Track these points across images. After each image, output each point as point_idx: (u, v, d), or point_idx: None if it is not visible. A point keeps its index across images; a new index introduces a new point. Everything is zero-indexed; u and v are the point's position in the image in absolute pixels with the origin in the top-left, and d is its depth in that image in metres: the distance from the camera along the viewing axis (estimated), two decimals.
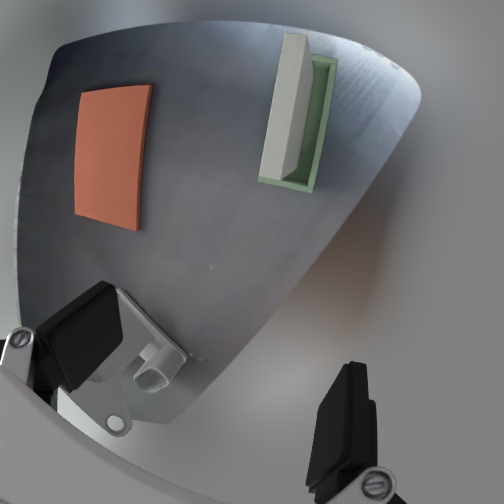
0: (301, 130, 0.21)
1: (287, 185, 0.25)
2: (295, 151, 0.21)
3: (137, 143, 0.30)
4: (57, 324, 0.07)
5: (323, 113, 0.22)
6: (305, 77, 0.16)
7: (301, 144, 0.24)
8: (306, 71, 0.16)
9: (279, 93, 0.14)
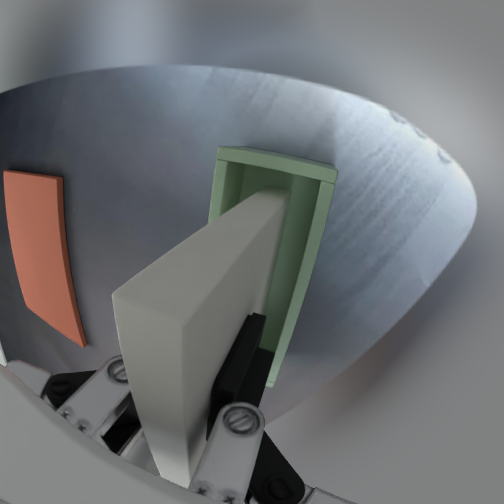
0: None
1: None
2: None
3: (59, 258, 0.22)
4: None
5: (296, 288, 0.13)
6: (232, 326, 0.07)
7: None
8: (234, 312, 0.07)
9: (152, 432, 0.06)
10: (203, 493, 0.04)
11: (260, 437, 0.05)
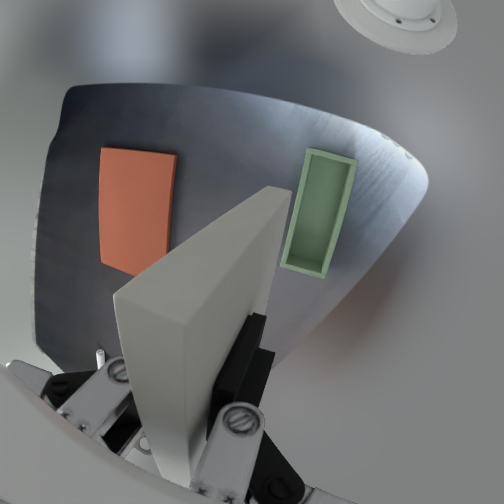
0: None
1: (304, 271, 0.31)
2: None
3: (165, 212, 0.36)
4: None
5: (340, 213, 0.27)
6: (232, 327, 0.07)
7: None
8: (235, 312, 0.07)
9: (152, 432, 0.06)
10: (203, 493, 0.04)
11: (260, 437, 0.05)
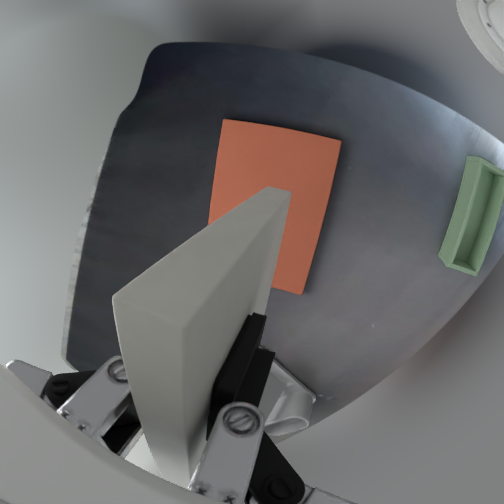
0: None
1: (464, 270, 0.25)
2: None
3: (321, 206, 0.30)
4: None
5: (495, 218, 0.22)
6: (232, 328, 0.07)
7: None
8: (234, 314, 0.07)
9: (152, 433, 0.06)
10: (203, 493, 0.04)
11: (260, 437, 0.05)
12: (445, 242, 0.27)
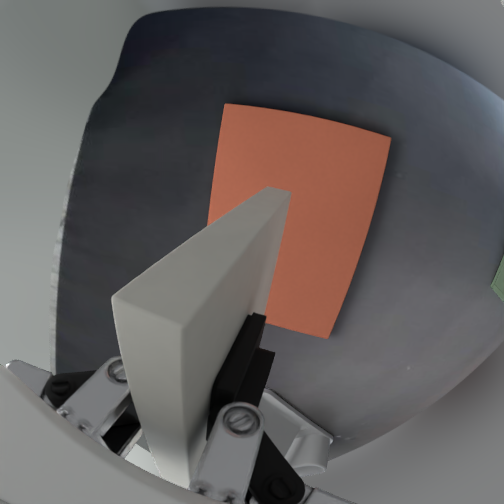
0: None
1: None
2: None
3: (362, 227, 0.21)
4: None
5: None
6: (231, 328, 0.07)
7: None
8: (233, 314, 0.07)
9: (151, 433, 0.06)
10: (203, 493, 0.04)
11: (260, 437, 0.05)
12: (500, 272, 0.18)
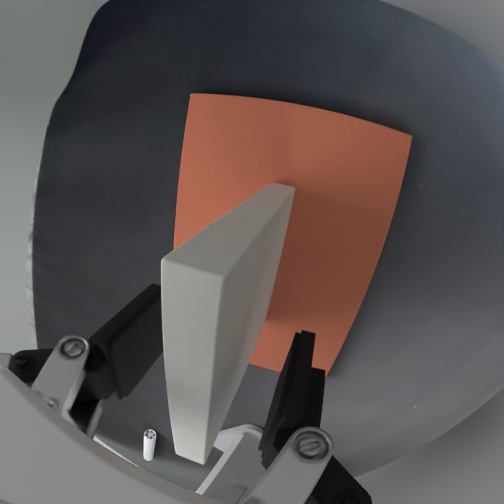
0: (258, 319, 0.14)
1: None
2: (244, 364, 0.13)
3: (371, 255, 0.16)
4: (116, 330, 0.07)
5: None
6: (248, 299, 0.09)
7: (265, 310, 0.17)
8: (251, 286, 0.08)
9: (176, 396, 0.07)
10: None
11: (325, 465, 0.05)
12: None
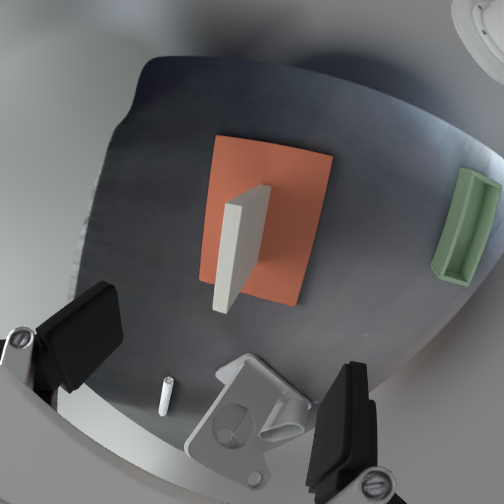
0: (252, 249, 0.29)
1: (456, 282, 0.26)
2: (245, 271, 0.28)
3: (313, 221, 0.31)
4: (57, 324, 0.07)
5: (487, 229, 0.23)
6: (248, 225, 0.24)
7: (256, 250, 0.32)
8: (249, 219, 0.24)
9: (222, 257, 0.22)
10: None
11: None
12: (437, 254, 0.28)
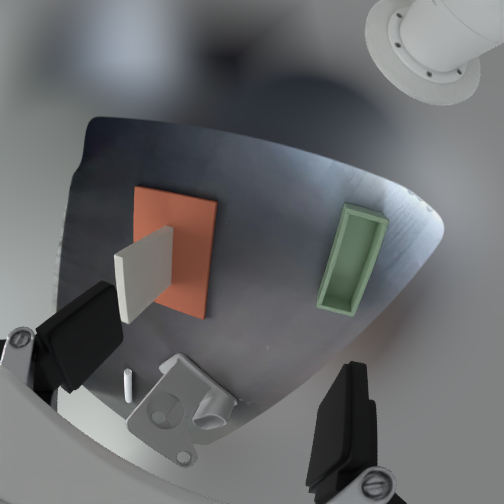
0: (155, 277, 0.37)
1: (337, 311, 0.34)
2: (149, 293, 0.37)
3: (205, 254, 0.39)
4: (57, 324, 0.07)
5: (370, 264, 0.31)
6: (138, 265, 0.32)
7: (164, 276, 0.40)
8: (138, 261, 0.32)
9: (118, 288, 0.30)
10: None
11: None
12: (321, 284, 0.36)
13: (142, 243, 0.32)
